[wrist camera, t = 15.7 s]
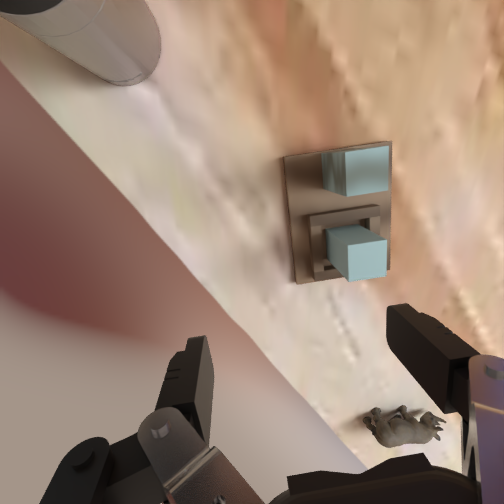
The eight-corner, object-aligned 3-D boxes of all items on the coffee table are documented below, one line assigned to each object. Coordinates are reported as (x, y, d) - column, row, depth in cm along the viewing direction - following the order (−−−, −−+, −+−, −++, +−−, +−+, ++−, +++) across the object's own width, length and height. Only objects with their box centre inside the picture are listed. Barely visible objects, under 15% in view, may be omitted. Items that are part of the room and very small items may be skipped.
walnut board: (283, 156, 37) (298, 156, 28) (388, 141, 37) (434, 136, 29) (295, 281, 43) (311, 312, 34) (386, 267, 43) (425, 294, 34)
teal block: (325, 228, 39) (347, 245, 32) (357, 223, 39) (387, 239, 32) (326, 258, 41) (348, 281, 33) (357, 254, 41) (386, 276, 33)
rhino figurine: (432, 417, 54) (456, 448, 48) (361, 424, 53) (377, 456, 47) (435, 400, 52) (461, 429, 47) (363, 407, 52) (379, 438, 46)
